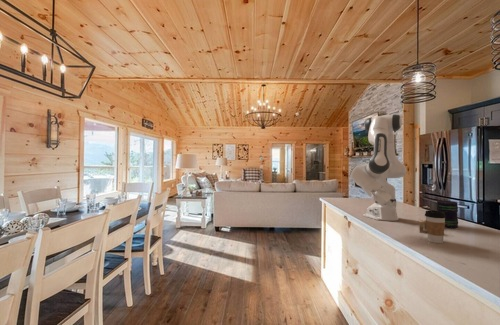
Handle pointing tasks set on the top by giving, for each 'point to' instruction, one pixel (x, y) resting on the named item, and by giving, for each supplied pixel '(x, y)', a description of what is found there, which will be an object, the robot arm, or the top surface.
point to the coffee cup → (435, 225)
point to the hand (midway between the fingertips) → (394, 208)
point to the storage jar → (449, 213)
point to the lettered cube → (422, 226)
